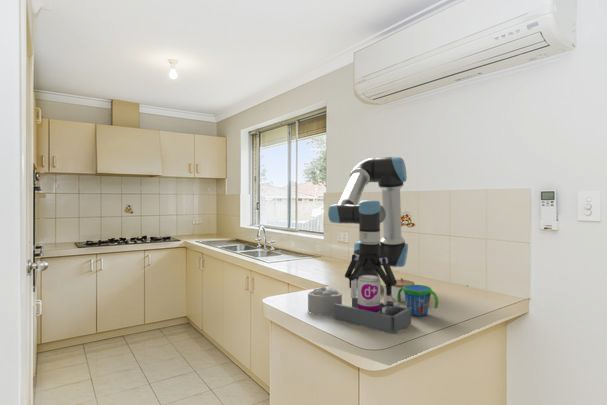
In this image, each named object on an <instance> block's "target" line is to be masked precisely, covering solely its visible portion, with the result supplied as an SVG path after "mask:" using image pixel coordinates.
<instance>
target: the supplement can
mask: <svg viewBox="0 0 607 405" xmlns="http://www.w3.org/2000/svg"><path fill="white" fill-rule="evenodd" d="M379 278H380V276H379V277H377V276H374V275H362V276H359V279H358V281H357V308H359V309H363V310H368V311H372V312H376V313H380V302H381V286H380V281H381V279H380V280H379Z"/></svg>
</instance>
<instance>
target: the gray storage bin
mask: <svg viewBox="0 0 607 405" xmlns="http://www.w3.org/2000/svg"><path fill="white" fill-rule="evenodd" d="M386 306H388V304H387V305H384V302H381V301H380V313H376V312H372V311H368V310H363V309H359V308H357V297H354V298H351V306H349V305H345V304H342V305H341V304H337V303H336V304H335V314H334V320H337V321H341V322H345V323H349V324H353V325H355V326H357V325H358V326H360V327H364V328H367V327H368V328H369V329H371V328H372V329H371V330H376V331H379V332H383V331H384V333H388V334H390V333H391V334H392V335H395V334H397V333H399V332H400V331H403V330H404V329H405V328H408V327H409V326H410V325H411V324H412V315H411V309H410V308H407V306H406V307H405V306H400V305H399V309H398V314H396V315H394V316H390V315H385V314H382V308H384V307H386Z"/></svg>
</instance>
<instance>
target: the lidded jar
mask: <svg viewBox="0 0 607 405" xmlns="http://www.w3.org/2000/svg"><path fill="white" fill-rule="evenodd" d="M396 282H397V284H396V285H393V286H392V294H391V295H390V296H392V298H393V299H394V301H395V302H399V301H398V299H397V297H398V292H399V290H400V289H401V288H403V287H404V286H406V285H416V284H415V282H414V281H411V280H407V279H404V278H400V279H396ZM400 295H401V303H406V300H405V293H404V291H403V290H402V291H401V293H400Z"/></svg>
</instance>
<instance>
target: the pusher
mask: <svg viewBox="0 0 607 405" xmlns="http://www.w3.org/2000/svg"><path fill="white" fill-rule="evenodd" d="M399 303H400V302H399V301H395V302H394V301H393V300H392V301H391V300H389V301H388V306H386V307H384V308H382V314H385V315H390V316H394V315H396V314H398V309H399V306H400V305H399Z"/></svg>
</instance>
